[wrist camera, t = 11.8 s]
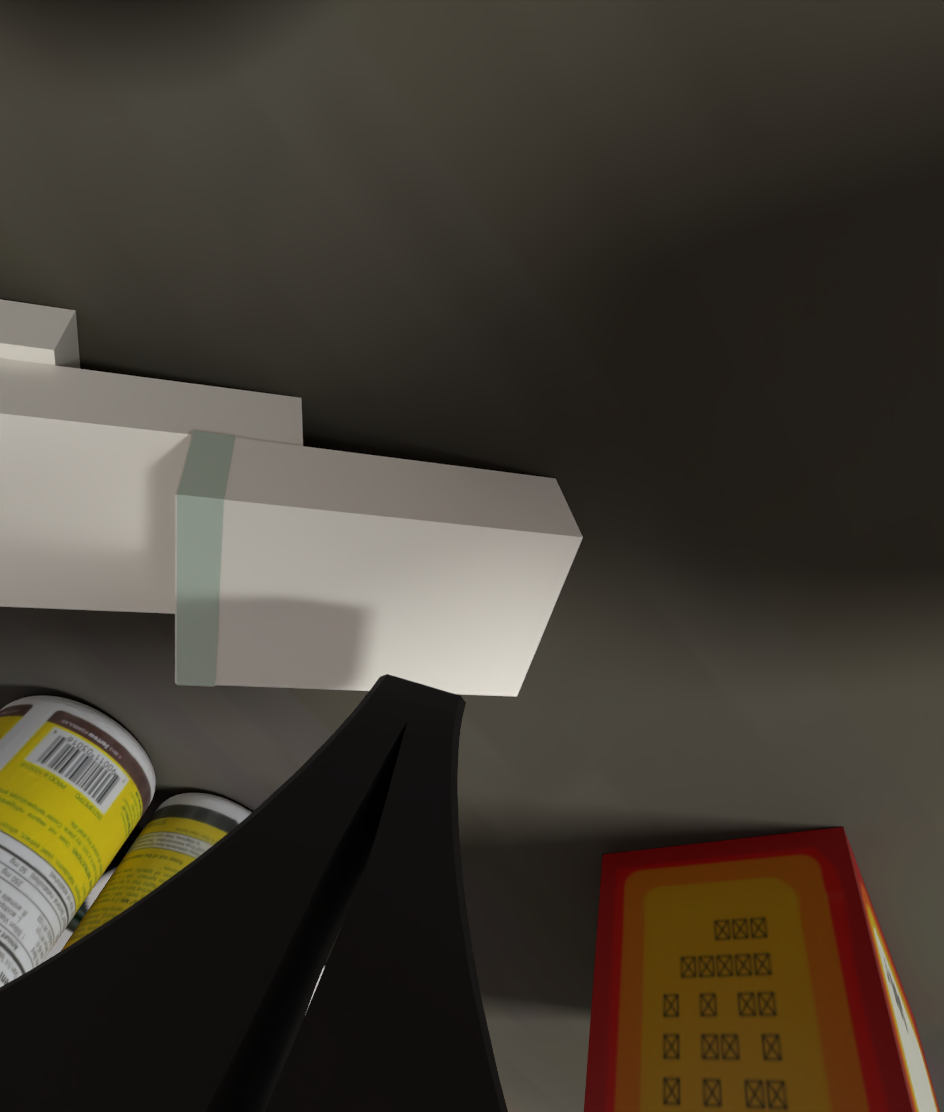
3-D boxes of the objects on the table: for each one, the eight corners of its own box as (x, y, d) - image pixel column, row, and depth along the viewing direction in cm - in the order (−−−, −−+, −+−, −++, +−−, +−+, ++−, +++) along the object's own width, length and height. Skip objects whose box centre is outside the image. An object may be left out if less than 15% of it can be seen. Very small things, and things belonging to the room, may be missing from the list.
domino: (303, 447, 14) (-150, 397, 11) (282, 618, 16) (-91, 602, 14) (301, 397, 15) (-100, 345, 13) (282, 561, 18) (-54, 539, 16)
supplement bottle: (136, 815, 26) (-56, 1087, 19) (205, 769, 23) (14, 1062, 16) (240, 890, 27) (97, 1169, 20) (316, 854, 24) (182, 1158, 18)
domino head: (583, 537, 13) (175, 494, 11) (516, 697, 16) (174, 685, 14) (555, 477, 15) (192, 430, 13) (499, 632, 17) (189, 612, 15)
